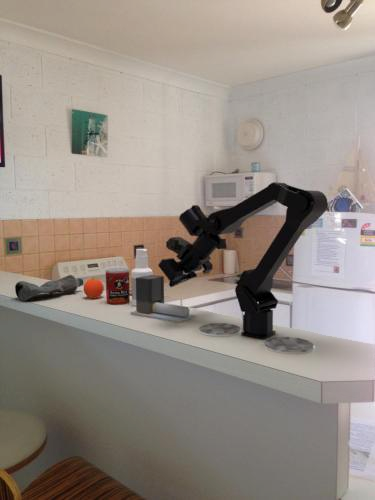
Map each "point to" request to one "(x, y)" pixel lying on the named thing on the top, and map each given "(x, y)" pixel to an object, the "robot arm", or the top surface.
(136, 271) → the spray bottle
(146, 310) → the sleeve
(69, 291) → the crushed bottle
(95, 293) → the clementine
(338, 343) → the top surface
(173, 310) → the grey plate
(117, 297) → the canned food
